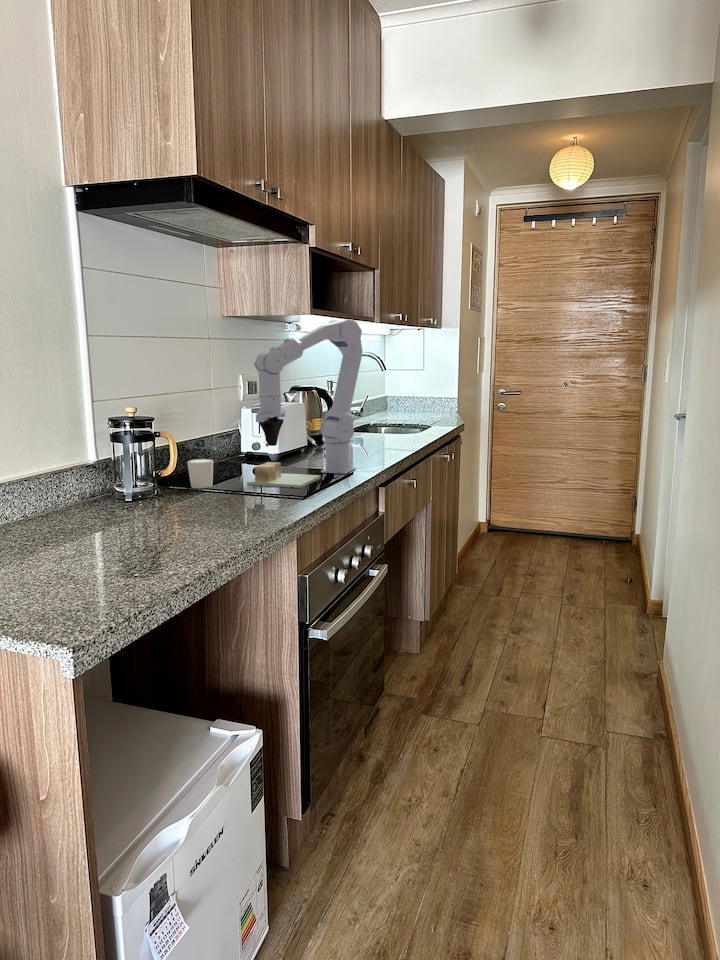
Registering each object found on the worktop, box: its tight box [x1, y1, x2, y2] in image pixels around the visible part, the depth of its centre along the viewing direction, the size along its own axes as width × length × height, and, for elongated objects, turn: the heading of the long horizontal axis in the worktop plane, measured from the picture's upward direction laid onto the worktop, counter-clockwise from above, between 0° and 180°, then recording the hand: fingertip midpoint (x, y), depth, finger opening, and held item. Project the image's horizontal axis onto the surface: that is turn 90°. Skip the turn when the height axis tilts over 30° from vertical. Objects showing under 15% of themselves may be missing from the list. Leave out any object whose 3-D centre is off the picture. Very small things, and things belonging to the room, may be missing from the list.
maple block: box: [254, 461, 282, 482], centre depth 186 cm, size 4×4×8 cm
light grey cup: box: [187, 458, 214, 489], centre depth 181 cm, size 7×7×7 cm
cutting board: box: [246, 472, 322, 489], centre depth 187 cm, size 14×16×1 cm
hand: (272, 445), depth 187 cm, fingers closed
